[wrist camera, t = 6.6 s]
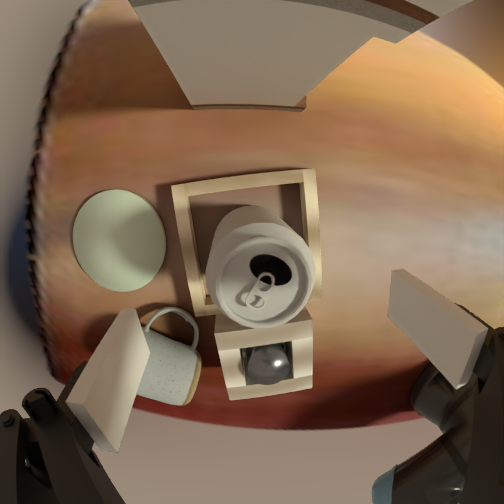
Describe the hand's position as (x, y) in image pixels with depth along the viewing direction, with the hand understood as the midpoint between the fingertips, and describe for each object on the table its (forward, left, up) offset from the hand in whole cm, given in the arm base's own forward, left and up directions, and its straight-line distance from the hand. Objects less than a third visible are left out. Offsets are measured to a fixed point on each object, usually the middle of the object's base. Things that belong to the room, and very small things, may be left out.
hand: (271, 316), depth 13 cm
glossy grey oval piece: (-11, 0, -14) cm, 18 cm away
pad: (+2, +14, -16) cm, 21 cm away
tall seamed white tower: (+19, -2, -16) cm, 25 cm away
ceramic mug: (-11, +11, -16) cm, 23 cm away
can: (0, 0, -16) cm, 16 cm away
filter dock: (-5, 0, -16) cm, 17 cm away
